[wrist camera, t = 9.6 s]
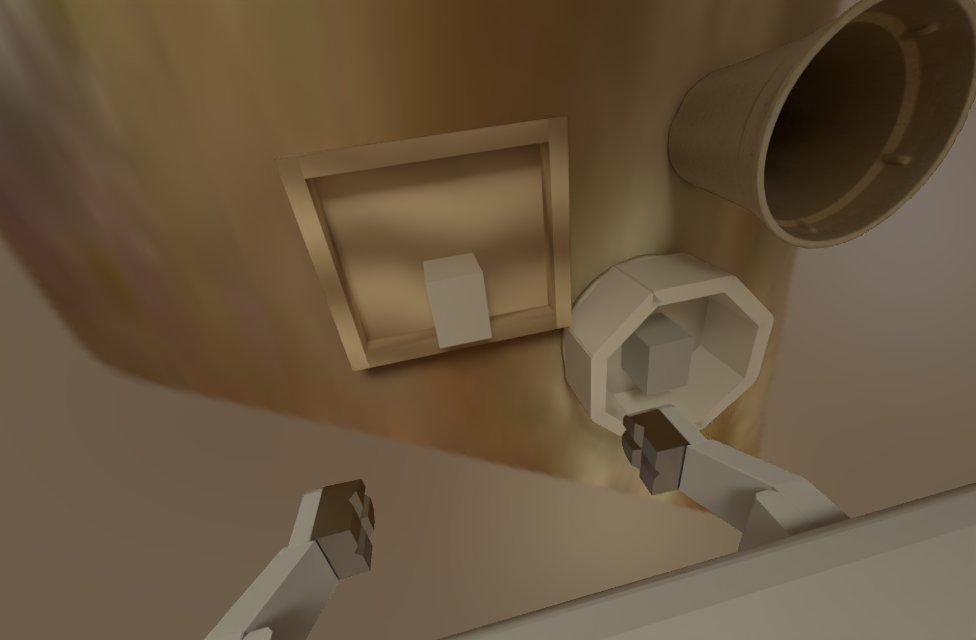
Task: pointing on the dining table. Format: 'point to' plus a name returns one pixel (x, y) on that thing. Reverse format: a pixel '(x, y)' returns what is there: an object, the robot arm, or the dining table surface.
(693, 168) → the flower pot
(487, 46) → the dining table surface
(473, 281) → the block
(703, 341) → the bowl
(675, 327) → the tall grey rectangular block
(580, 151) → the dining table surface
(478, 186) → the tray
